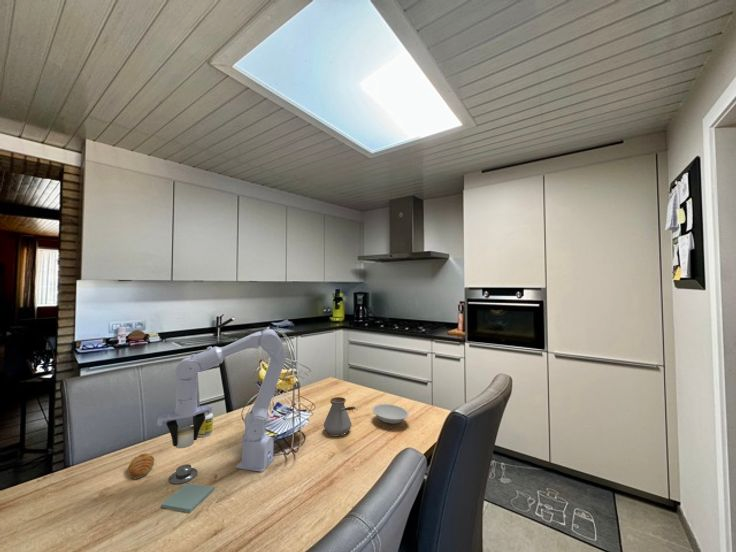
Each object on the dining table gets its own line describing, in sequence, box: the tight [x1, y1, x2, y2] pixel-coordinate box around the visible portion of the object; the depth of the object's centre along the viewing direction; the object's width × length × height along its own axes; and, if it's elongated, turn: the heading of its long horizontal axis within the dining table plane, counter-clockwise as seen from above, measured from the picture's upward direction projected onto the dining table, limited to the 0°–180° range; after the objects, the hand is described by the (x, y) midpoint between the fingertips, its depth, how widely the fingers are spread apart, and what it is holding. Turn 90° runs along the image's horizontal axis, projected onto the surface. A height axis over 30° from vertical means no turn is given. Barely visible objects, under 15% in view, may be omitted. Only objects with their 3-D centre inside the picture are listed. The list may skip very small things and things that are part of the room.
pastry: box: [127, 453, 155, 480], centre depth 95 cm, size 9×7×4 cm
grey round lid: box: [168, 463, 199, 485], centre depth 93 cm, size 8×8×2 cm
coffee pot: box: [323, 396, 358, 436], centre depth 120 cm, size 21×12×15 cm, turn 29°
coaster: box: [160, 482, 215, 514], centre depth 83 cm, size 9×9×1 cm
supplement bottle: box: [197, 412, 214, 438], centre depth 120 cm, size 5×5×10 cm
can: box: [175, 425, 195, 449], centre depth 93 cm, size 5×5×4 cm
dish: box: [372, 403, 409, 425], centre depth 133 cm, size 18×14×5 cm
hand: (184, 441), depth 93 cm, fingers closed on can, 5 cm apart
